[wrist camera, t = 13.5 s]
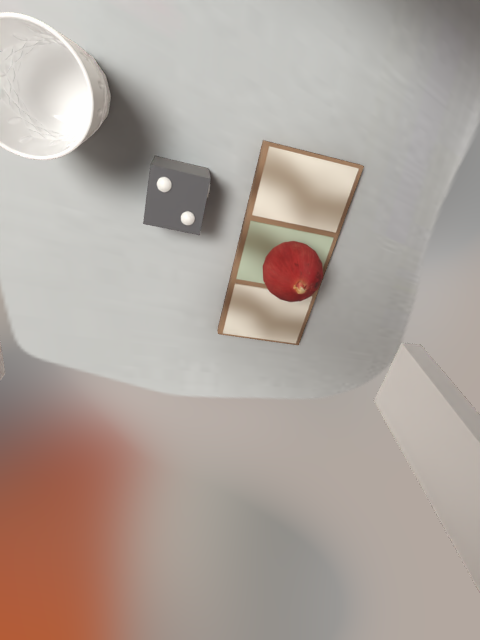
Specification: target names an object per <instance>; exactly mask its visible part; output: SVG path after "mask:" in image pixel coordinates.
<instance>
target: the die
mask: <svg viewBox="0 0 480 640" xmlns="http://www.w3.org/2000/svg"><path fill="white" fill-rule="evenodd" d="M210 180H211V178H210V173H209V169H208V168H205V167H201V166H196V165H192V164H188V163H184V162H179V161H175V160H171V159H167V158H163V157H158V156H155V157H154V159H153V161H152V163H151V165H150V173H149V181H148V189H147V197H146V205H145V214H144V222H143V224H146V225H151V226H157V227H162V228H167V229H172V230H177V231H182V232H187V233H192V234H197V235H200V231H201V225H202V220H203V215H204V210H205V205H206V200H207V198H208V195H209V190H210Z"/></svg>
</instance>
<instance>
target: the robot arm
mask: <svg viewBox="0 0 480 640" xmlns="http://www.w3.org/2000/svg"><path fill="white" fill-rule="evenodd" d="M4 374H5V369H4V362H3V355H2V349H1V342H0V381H1V379H2V377H3V376H4ZM374 402H375V404H376V406H377V408H378V410H379V411H380V413H381V415H382V417H383V419H384V421H385V422H386V424H387V426H388V428H389V430H390V431H391V433H392V435H393V437H394V439H395V440H396V442H397V444H398V446H399V447H400V449H401V451H402V453H403V455H404V457H405V458H406V460H407V462H408V464H409V466H410V468H411V469H412V471H413V473H414V475H415V477H416V479H417V480H418V482H419V484H420V486H421V488H422V489H423V491H424V493H425V495H426V496H427V498H428V500H429V502H430V504H431V506H432V508H433V509H434V511H435V513H436V515H437V517H438V518H439V520H440V522H441V524H442V526H443V527H444V529H445V531H446V533H447V535H448V537H449V538H450V540H451V542H452V544H453V546H454V547H455V549H456V551H457V553H458V555H459V556H460V558H461V560H462V562H463V564H464V565H465V567H466V569H467V571H468V573H469V575H470V576H471V578H472V580H473V582H474V584H475V585H476V587H477V589H478V591H479V592H480V414H479V413H478V412H477V411H476V409H475V408H474V407H473V406H472V404H471V403H470V402H469V401H468V400H467V399H466V397H465V396H464V395H463V394H462V393H461V391H460V390H459V389H458V388H457V387H456V386H455V384H454V383H453V382H452V381H451V380H450V378H449V377H448V376H447V375H446V374H445V373H444V371H443V370H442V369H441V368H440V367H439V365H438V364H437V363H436V362H435V361H434V360H433V358H432V357H431V356H430V355H429V354H428V353H427V351H426V350H425V349H424V348H423V346H422V345H417V344H409V343H401V345H400V347H399V349H398V351H397V353H396V355H395V357H394V359H393V361H392V364H391V366H390V368H389V370H388V372H387V374H386V376H385V378H384V380H383V383H382V385H381V387H380V389H379V391H378V393H377V395H376V397H375V399H374Z"/></svg>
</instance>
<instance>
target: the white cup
mask: <svg viewBox="0 0 480 640" xmlns="http://www.w3.org/2000/svg"><path fill="white" fill-rule="evenodd" d="M110 100H111V94H110V90H109V86H108V82H107V78H106V75H105V74H104V72H103V71H102V69H101V68H100V66H99V65H98V64H97V62H96V61H95V59H94V58H93V57H92V56H91V55H89V54H88V53H87V52H86V51H85V50H84V49H82V48H81V47H80V46H79V45H77V44H76V43H75V42H73V41H72V40H71V39H69V38H67V37H66V36H64V35H63V34H61V33H59V32H58V31H56V30H55V29H53V28H51V27H50V26H48V25H47V24H45V23H43V22H42V21H40V20H38V19H35V18H33V17H30V16H27V15H24V14H19V13H11V12H3V13H0V146H1V147H3V148H4V149H6V150H8V151H10V152H12V153H14V154H16V155H19V156H22V157H25V158H29V159H35V160H50V159H56V158H59V157H62V156H64V155H67V154H68V153H70V152H72V151H73V150H74V149H76V148H77V147H78V146H79V145H81V144H82V143H83V142H85V141H86V140H87V139H89V138H90V137H91V136H92V135H93V134H94V133H95V132H96V131H97V130H98V129H99V127H100V126H101V124H102V123H103V122H104V120H105V119H106V118H107V116H108V112H109V106H110Z"/></svg>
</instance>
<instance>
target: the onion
mask: <svg viewBox="0 0 480 640" xmlns="http://www.w3.org/2000/svg"><path fill="white" fill-rule="evenodd" d="M322 279H323V266H322V262H321V260H320V258H319V256H318V255H317V253H316V251H315V250H313V249H312V248H311V247H309V246H308V245H307V244H304V243H301V242H297V241H289V242H283V243H281V244H279V245H277V246H276V247H274V248H273V249H272V250H271V251H270V252H269V253H268V255H267V256H266V258H265V261H264V264H263V281H264V283H265V285H266V286H267V288H268V290H269V292H270V293H272V294H273V295H274V296H276V297H277V298H279V299H280V300H284V301H288V302H298V301H302V300H305V299H307V298H309V297H311V296H312V295H313V294H314V292H315V291H316V290H317V289H318V288H319V285H320V283H321V281H322Z"/></svg>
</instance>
